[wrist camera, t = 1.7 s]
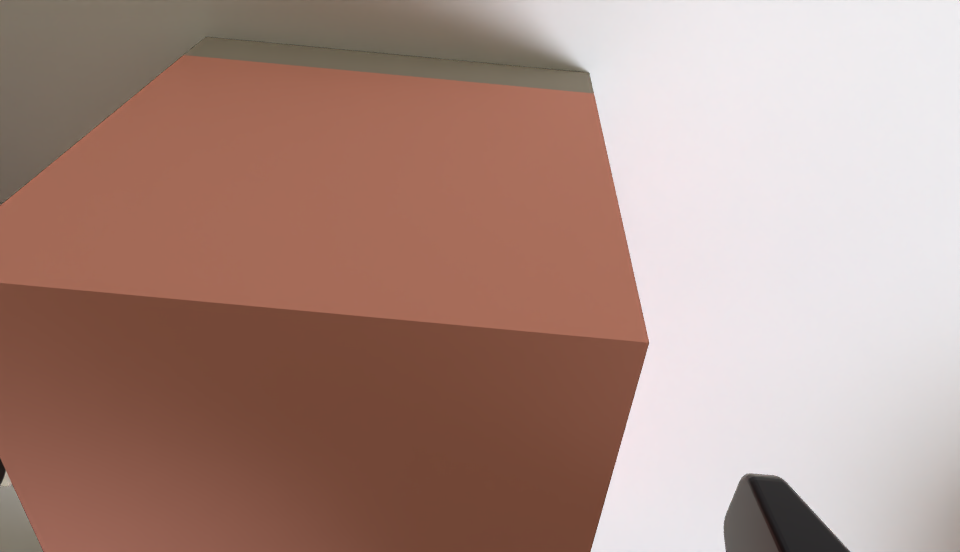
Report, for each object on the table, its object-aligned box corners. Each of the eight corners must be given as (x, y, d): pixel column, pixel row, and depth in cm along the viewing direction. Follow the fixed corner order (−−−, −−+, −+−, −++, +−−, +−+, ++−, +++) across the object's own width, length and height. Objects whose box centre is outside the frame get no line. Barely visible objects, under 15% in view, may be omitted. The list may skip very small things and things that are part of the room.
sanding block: (516, 498, 13) (512, 827, 9) (271, 475, 13) (156, 794, 9) (588, 68, 8) (649, 342, 4) (209, 33, 8) (-86, 276, 4)
